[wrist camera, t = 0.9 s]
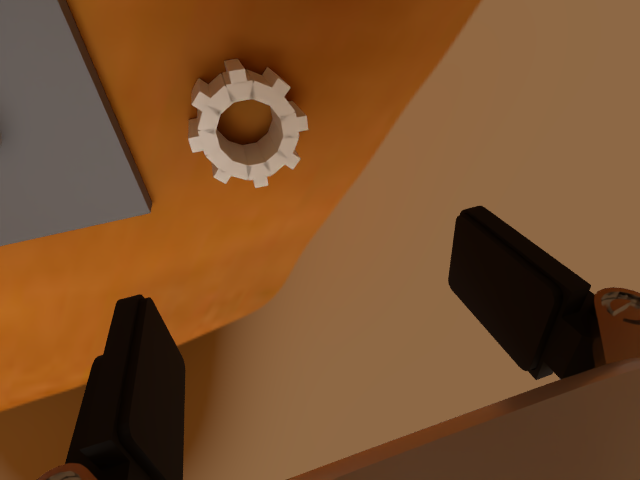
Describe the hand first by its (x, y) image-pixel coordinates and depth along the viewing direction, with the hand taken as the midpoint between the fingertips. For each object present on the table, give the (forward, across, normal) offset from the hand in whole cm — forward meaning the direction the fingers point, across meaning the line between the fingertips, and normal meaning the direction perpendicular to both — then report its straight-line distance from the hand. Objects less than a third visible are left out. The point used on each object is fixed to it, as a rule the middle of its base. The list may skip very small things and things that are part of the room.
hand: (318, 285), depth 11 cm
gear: (+18, 0, 0) cm, 19 cm away
